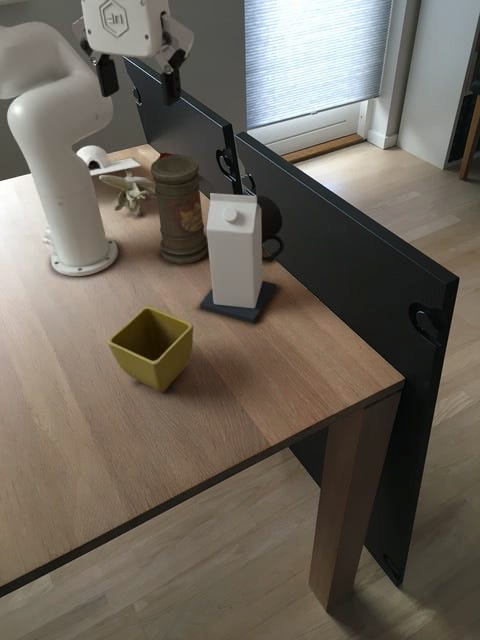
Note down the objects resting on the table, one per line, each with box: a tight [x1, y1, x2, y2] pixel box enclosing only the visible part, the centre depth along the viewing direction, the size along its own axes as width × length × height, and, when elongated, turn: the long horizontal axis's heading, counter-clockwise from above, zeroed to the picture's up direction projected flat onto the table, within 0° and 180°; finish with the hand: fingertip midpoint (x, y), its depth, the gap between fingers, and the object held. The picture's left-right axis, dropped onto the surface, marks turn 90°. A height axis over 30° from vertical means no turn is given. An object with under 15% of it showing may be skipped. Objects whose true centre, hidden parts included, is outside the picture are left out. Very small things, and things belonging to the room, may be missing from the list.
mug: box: [256, 195, 285, 262], centre depth 102 cm, size 8×12×10 cm
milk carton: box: [206, 192, 263, 308], centre depth 86 cm, size 7×7×19 cm
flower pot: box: [106, 305, 194, 393], centre depth 78 cm, size 9×9×9 cm
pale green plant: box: [98, 168, 156, 217], centre depth 117 cm, size 9×16×15 cm
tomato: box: [156, 152, 180, 160], centre depth 126 cm, size 8×7×7 cm
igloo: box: [75, 145, 142, 177], centre depth 124 cm, size 20×20×5 cm
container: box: [150, 154, 209, 265], centre depth 99 cm, size 9×9×18 cm
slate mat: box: [199, 280, 278, 324], centre depth 93 cm, size 10×10×1 cm
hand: (141, 98), depth 71 cm, fingers open, 9 cm apart
